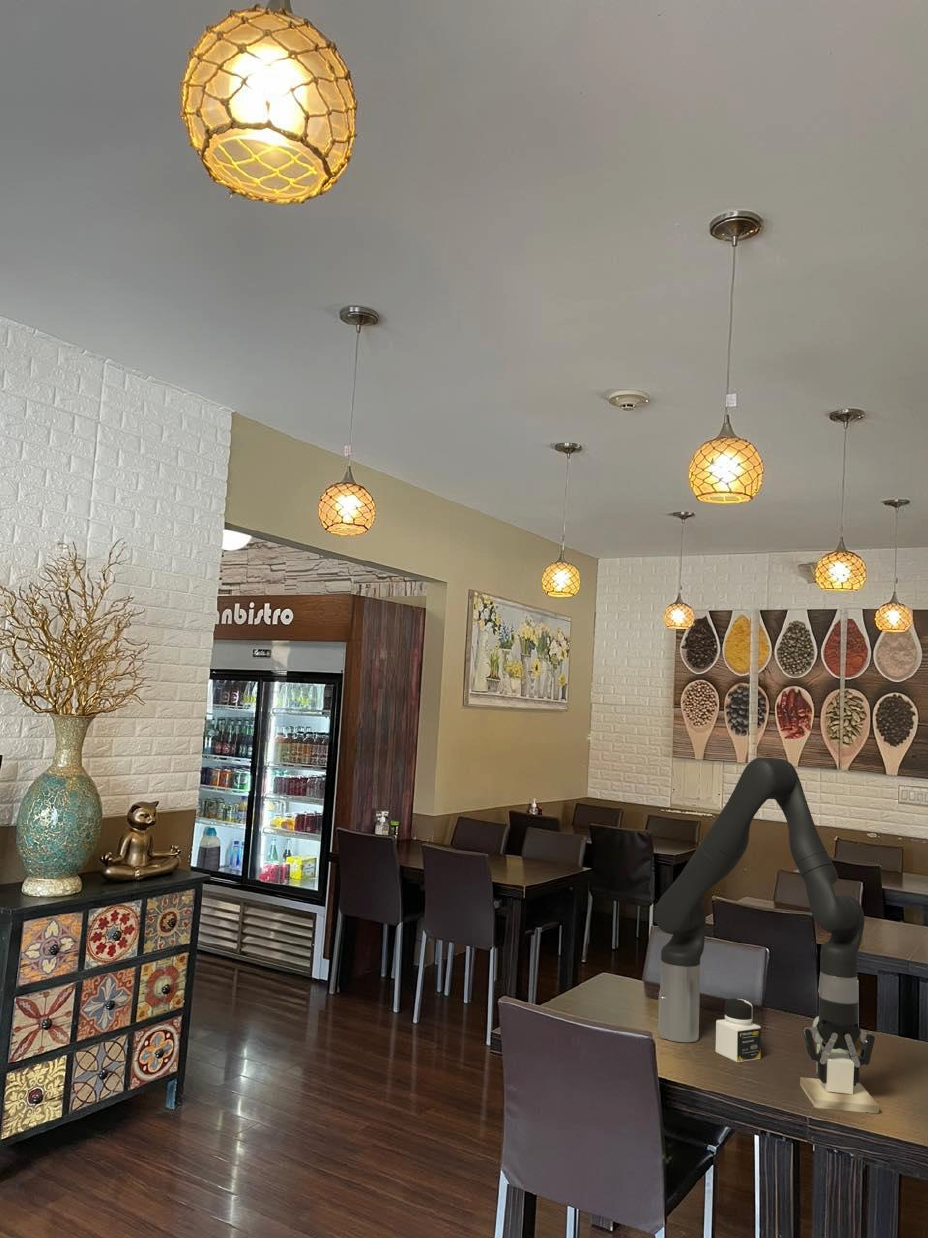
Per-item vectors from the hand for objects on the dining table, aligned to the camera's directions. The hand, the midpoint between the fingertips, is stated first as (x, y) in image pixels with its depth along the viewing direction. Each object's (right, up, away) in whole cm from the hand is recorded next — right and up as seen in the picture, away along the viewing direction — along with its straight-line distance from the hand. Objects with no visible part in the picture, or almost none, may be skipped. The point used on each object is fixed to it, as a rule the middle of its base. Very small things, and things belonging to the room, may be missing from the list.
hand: (838, 1083), depth 188 cm
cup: (+10, -7, +29) cm, 32 cm away
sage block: (+3, -5, +11) cm, 13 cm away
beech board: (0, -3, 0) cm, 3 cm away
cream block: (0, -1, +1) cm, 2 cm away
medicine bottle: (-14, -5, +22) cm, 27 cm away
